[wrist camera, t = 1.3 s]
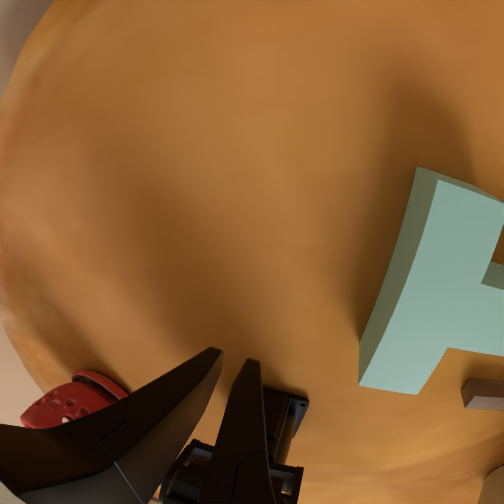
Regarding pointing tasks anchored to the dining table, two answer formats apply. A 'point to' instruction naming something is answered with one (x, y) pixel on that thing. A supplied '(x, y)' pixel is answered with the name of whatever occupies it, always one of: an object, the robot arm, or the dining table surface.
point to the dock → (483, 394)
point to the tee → (436, 286)
